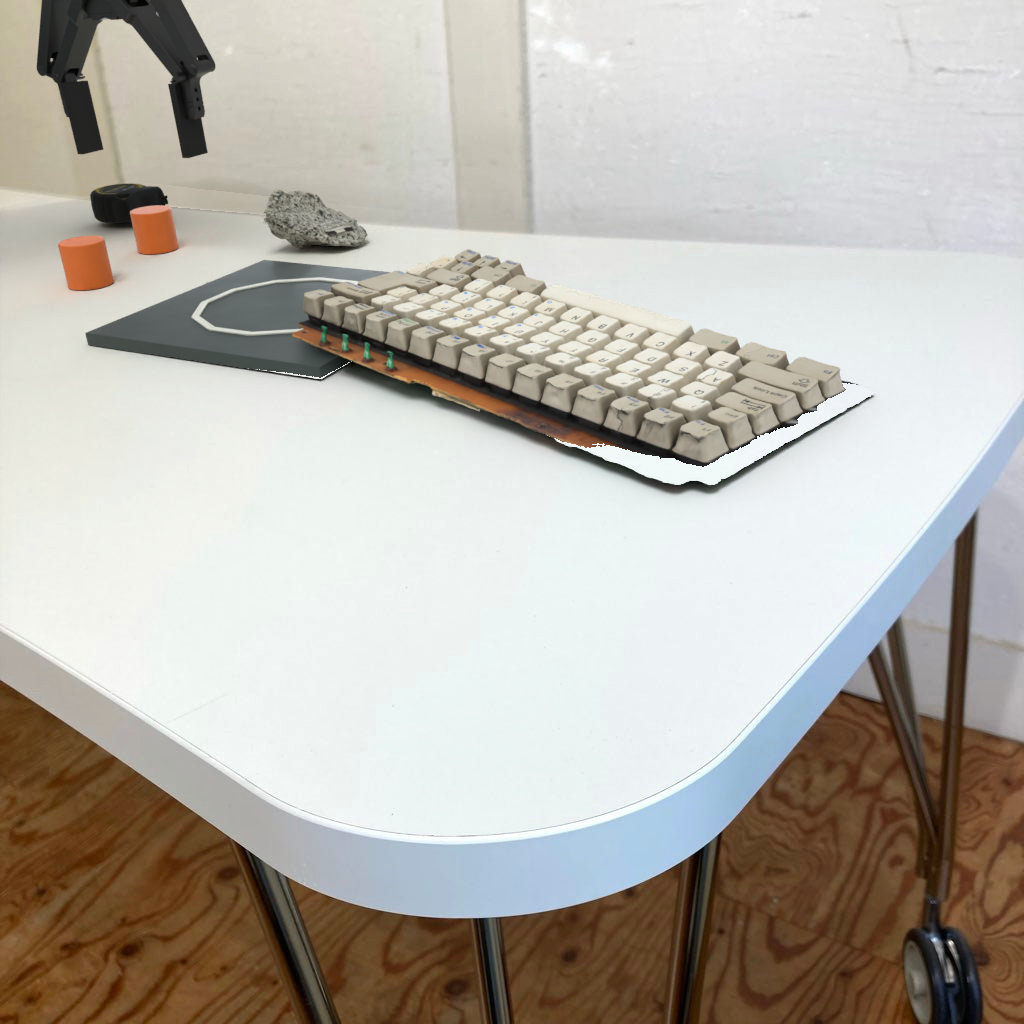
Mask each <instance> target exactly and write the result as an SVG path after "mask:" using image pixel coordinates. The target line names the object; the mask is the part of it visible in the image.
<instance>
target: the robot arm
mask: <svg viewBox="0 0 1024 1024" xmlns="http://www.w3.org/2000/svg"><path fill="white" fill-rule="evenodd" d="M40 7H41V8H40V17H39V18H40V19H39V32H38V41H37V42H38V43H37V54H36V55H37V57H36V71H37V73H38V75H39V76H41V77H48V78H50V79H52V80H53V82H54V83H55V84H57V87H58V92H59V95H60V99H61V104H62V107H63V112H64V114H65V116H66V118H68V119H69V123H70V127H71V132H72V136H73V141H74V144H75V148H76V153H77V155H87V154H90V153H96V152H99V151H103V150H104V146H103V141H102V137H101V132H100V128H99V124H98V119H97V115H96V109H95V106H94V102H93V97H92V93H91V89H90V83H89V81H88V80H84V79H85V78H86V76H85V75H84V73H82V71H83V69H84V67H85V63H86V60H87V57H88V55H89V52H90V48H91V46H92V43H93V39H94V38H95V37H94V36H95V34H96V30H97V28H98V26H99V24H101V23H102V22H103V21H105V20H106V21H107V20H110V21H119V20H122V21H123V22H124V23H126V24H128V25H129V26H131V27H132V28H133V29H134V30H135V31H136V33H137V34H138V35H139V36H140V38H141V39H142V40H143V41H144V43H145V44H146V45H147V47H148V48H149V50H151V51H152V53H153V54H154V55H155V57H156V58H157V59H158V61H159V62H160V63H161V64H162V65H163V67H164V68H165V69H166V70H167V72H168V73H169V74H170V75H171V77H172V78H171V80H170V81H169V82H170V83H168V84H167V87H168V90H169V96H170V102H171V106H172V113H173V117H174V121H175V127H176V132H177V137H178V142H179V147H180V152H181V158H182V159H191V158H194V157H198V156H201V155H207V154H208V153H209V152H208V146H207V142H206V136H205V130H204V125H203V119H202V118H205V114H206V110H205V105H204V100H203V99H204V98H203V94H202V93H203V92H202V89H201V88H202V87H201V79H202V77H203V76H206V75H208V74H209V73H213V72H215V70H216V62H215V60H214V58H213V56H212V54H211V53H210V51H209V48H208V47H207V45H206V43H205V41H204V39H203V38H202V36H201V34H200V32H199V30H198V29H197V27H196V25H195V22H194V21H193V19H192V17H191V15H190V13H189V11H188V10H187V8H186V6H185V3H184V2H183V0H41V5H40Z"/></svg>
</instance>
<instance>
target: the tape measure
mask: <svg viewBox="0 0 1024 1024" xmlns="http://www.w3.org/2000/svg"><path fill="white" fill-rule="evenodd" d="M89 196H90V204H91V208H92V213H93V216H94V218H95V219H96V220H97V221H98V222H101V223H105V224H111V225H112V224H121V223H131V224H132V221H131V216H130V211H131V210H133V209H136V208H140V207H146V206H155V205H163V206H166V205H168V204H169V200H168V195H165V193H164V192H163V189H162V188H161V187H160V186H151V185H144V184H142V183H116V184H109V185H104V186H101V187H98V188H95V189H94V190H92V191H91V192H90V194H89Z"/></svg>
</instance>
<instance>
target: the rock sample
mask: <svg viewBox="0 0 1024 1024" xmlns="http://www.w3.org/2000/svg"><path fill="white" fill-rule="evenodd" d="M263 214H265V217H264V215H262V216H261V217H262V218H263V222H262V224H263V225H264V224H266V225H267V227H268V228H269V230H270V233H271V234H272V235H274V237H276V238H278V239H279V240H286V241H287V242H288V243H290V245H291V246H293V247H295V248H297V249H304V248H306V247H308V246H314V245H315V246H320V247H329V246H331V247H332V246H333V247H339V246H341V247H359V246H360V245H361V244H362V243H363V242H364V241H365V240H366V238H367V237H368V232H367V230H366V229H365V228H364V227H363V226H362V225H359V224H358V222H359V221H358V220H357V219H355V218H352V217H350V216H348V215H346V214H345V213H343V212H342V211H341V210H340V211H339V210H336V209H335V208H334V209H333V208H330V207H327V206H326V205H325V204H324V202H323V200H322V199H321V197H320V196H319V195H318V194H313V193H311V192H309V191H302V190H294V191H289V192H285V191H284V190H283V189H277V188H275V189H274V190H272V193H271V194H270V196H269V197H268V202H267V203H266V207H265V209H264V212H263Z"/></svg>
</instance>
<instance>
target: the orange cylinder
mask: <svg viewBox="0 0 1024 1024" xmlns="http://www.w3.org/2000/svg"><path fill="white" fill-rule="evenodd" d="M57 247H58V251H59V256H60V260H61V264H62V267H63V272H64V275H65V280H66V282H67V283H66V284H67V288H68V289H70V290H73V291H92V290H98V289H101V288H105V287H108V286H110V285H112V284H114V282H115V279H114V275H113V271H112V266H111V261H110V257H109V253H108V252H109V251H108V248H107V244H106V239H105V237H104V236H101V235H80V236H74V237H69V238H65V239H62V240H61V241H58V243H57Z"/></svg>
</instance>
